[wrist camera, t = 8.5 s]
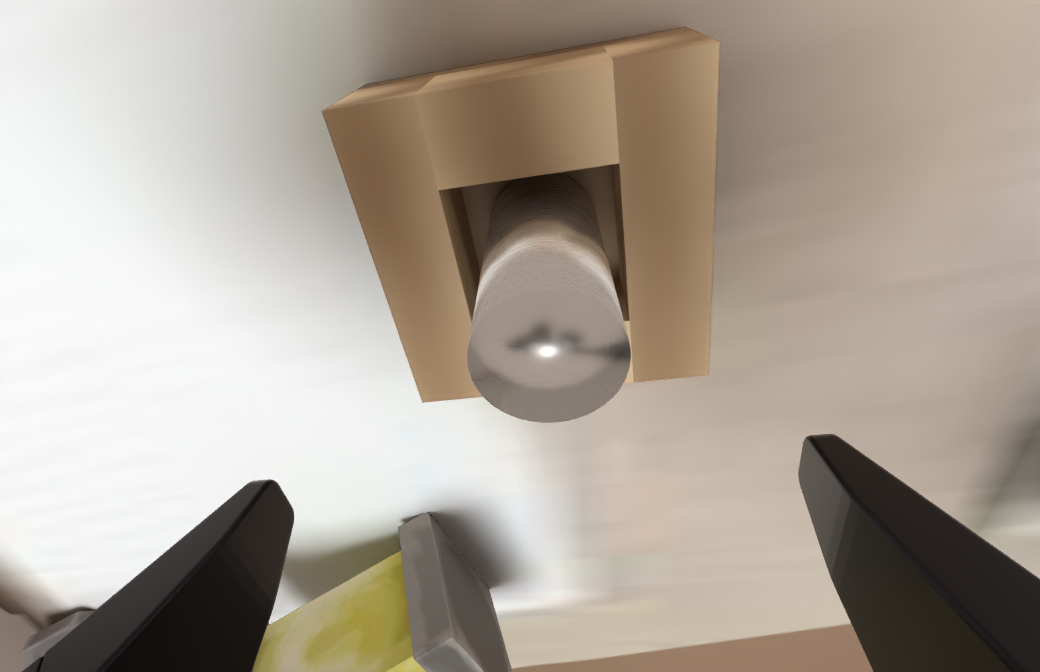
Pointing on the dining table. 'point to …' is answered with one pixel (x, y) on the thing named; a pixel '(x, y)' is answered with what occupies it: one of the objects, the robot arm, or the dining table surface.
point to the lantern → (377, 618)
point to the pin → (546, 306)
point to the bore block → (531, 152)
